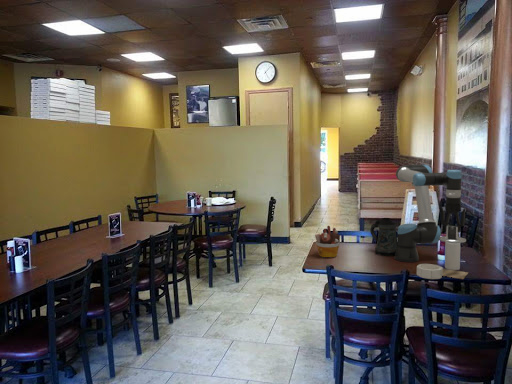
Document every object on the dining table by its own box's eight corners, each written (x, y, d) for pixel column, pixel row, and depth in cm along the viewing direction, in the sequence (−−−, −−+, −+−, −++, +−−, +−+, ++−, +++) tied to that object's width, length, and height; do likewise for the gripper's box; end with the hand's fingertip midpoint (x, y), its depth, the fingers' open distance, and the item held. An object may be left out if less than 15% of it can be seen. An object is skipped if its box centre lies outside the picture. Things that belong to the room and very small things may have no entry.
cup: (455, 266, 251) (455, 240, 249) (462, 269, 243) (463, 243, 241) (442, 266, 251) (442, 241, 249) (448, 270, 243) (449, 244, 241)
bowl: (414, 276, 232) (414, 267, 232) (421, 270, 242) (421, 262, 242) (438, 280, 224) (438, 271, 224) (444, 274, 234) (444, 266, 234)
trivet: (436, 275, 234) (436, 274, 234) (442, 269, 245) (442, 268, 244) (463, 279, 225) (463, 278, 225) (468, 273, 236) (468, 272, 236)
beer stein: (401, 256, 275) (402, 220, 272) (372, 256, 278) (372, 220, 275) (397, 251, 291) (397, 216, 289) (369, 250, 294) (369, 216, 292)
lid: (435, 241, 232) (436, 227, 231) (442, 236, 242) (442, 223, 242) (462, 244, 223) (463, 229, 222) (468, 239, 234) (468, 226, 233)
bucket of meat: (338, 260, 269) (338, 230, 267) (313, 259, 274) (313, 230, 272) (341, 253, 288) (341, 225, 286) (318, 252, 293) (317, 224, 291)
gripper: (435, 196, 233) (434, 236, 235) (468, 198, 222) (467, 240, 224) (439, 195, 239) (438, 234, 241) (471, 197, 228) (470, 238, 230)
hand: (452, 237), depth 232 cm, fingers closed on lid, 4 cm apart
